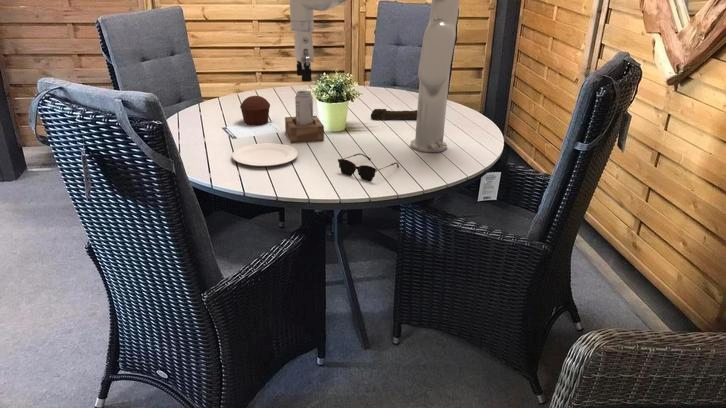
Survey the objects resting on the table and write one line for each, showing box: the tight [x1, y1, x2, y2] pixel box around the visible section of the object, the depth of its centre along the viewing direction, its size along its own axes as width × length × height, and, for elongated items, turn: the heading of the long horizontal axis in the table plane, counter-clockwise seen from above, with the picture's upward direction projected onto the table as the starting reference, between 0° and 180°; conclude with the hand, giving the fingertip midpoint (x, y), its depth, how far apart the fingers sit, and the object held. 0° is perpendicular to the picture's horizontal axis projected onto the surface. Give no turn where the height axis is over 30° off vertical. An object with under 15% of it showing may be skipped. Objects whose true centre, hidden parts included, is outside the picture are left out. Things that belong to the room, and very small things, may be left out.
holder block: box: [284, 115, 325, 144], centre depth 192 cm, size 14×12×6 cm
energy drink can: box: [294, 90, 314, 125], centre depth 190 cm, size 6×6×15 cm
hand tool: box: [370, 108, 417, 121], centre depth 216 cm, size 19×4×5 cm, turn 94°
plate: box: [231, 142, 299, 168], centre depth 172 cm, size 21×21×2 cm
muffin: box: [239, 95, 271, 127], centre depth 205 cm, size 12×11×10 cm
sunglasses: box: [337, 153, 400, 182], centre depth 165 cm, size 14×16×5 cm
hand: (304, 78), depth 184 cm, fingers open, 9 cm apart
